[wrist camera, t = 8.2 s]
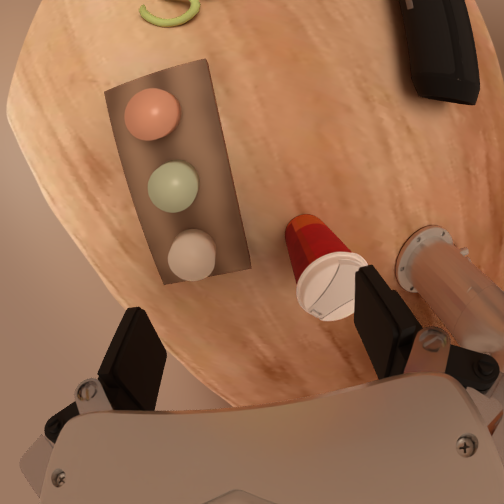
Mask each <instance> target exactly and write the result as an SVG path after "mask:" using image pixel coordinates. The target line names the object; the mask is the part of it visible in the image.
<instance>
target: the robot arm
mask: <svg viewBox="0 0 504 504" xmlns="http://www.w3.org/2000/svg"><path fill="white" fill-rule="evenodd" d="M467 254H468V248H467V247H464V248H461V249H458V248H457V247H456V246H455V245H453V240H452V237H451V235H450V234H449V232H447V231H446V230H445V229H444V228H442V227H440V226H436V225H431V226H427V227H424V228H422V229H420V230H419V231H417V232H416V233H415V234H413V235H412V236H411V237H410V238H409V240H408V241H407V242H406V243H405V245H404V246H403V248H402V249H401V252H400V254H399V256H398V259H397V263H396V277H397V280H398V282H399V284H400V285H401V286H402V287H403V288H404V289H405V290H406V291H409V292H418V293H419V294H420V295H421V296H422V297H423V299H424V300H425V301H426V302H427V304H428V305H429V306H430V307H431V309H432V310H433V311H434V312H435V314H436V315H437V316H438V317H439V319H440V320H441V321H442V322H443V324H444V325H445V326H446V328H447V329H448V330H449V332H450V333H451V334H452V336H453V337H454V338H455V340H456V341H457V342H458V344H459V345H460V346H461V347H458V346H455V345H451V342H450V337H449V335H448V334H447V333H446V332H445V331H444V330H442V329H441V328H438V327H425V328H422V326H421V325H420V323H419V322H418V321H417V319H416V318H415V316H414V315H413V313H412V312H411V310H410V309H409V308H408V306H407V305H406V303H405V302H404V301H403V299H402V298H401V297H400V295H399V294H398V293H397V292H396V291H395V290H391V289H390V288H389V286H388V285H387V284H386V282H385V281H384V279H383V278H382V277H381V275H380V274H379V273H378V271H377V270H376V269H375V268H374V266H373V265H368V266H363V267H360V268H359V271H356V272H355V303H354V323H355V326H356V329H357V331H358V333H359V335H360V337H361V339H362V342H363V344H364V346H365V348H366V351H367V353H368V355H369V357H370V360H371V362H372V364H373V367H374V369H375V371H376V374H377V376H378V378H379V380H375V381H372V382H368V383H364V384H361V385H357V386H353V387H349V388H344V389H340V390H336V391H332V392H327V393H323V394H318V395H313V396H308V397H303V398H297V399H292V400H286V401H280V402H273V403H266V404H259V405H251V406H242V407H232V408H221V409H206V410H184V411H154V410H155V406H156V401H157V396H158V392H159V387H160V383H161V379H162V375H163V370H164V366H165V362H166V358H167V353H166V350H165V348H164V346H163V344H162V342H161V340H160V339H159V337H158V335H157V333H156V331H155V329H154V327H153V325H152V323H151V322H150V320H149V318H148V316H147V314H146V312H145V310H143V309H141V308H140V307H133V308H128V309H127V310H126V312H125V314H124V316H123V318H122V320H121V322H120V324H119V326H118V328H117V331H116V333H115V335H114V337H113V339H112V341H111V344H110V346H109V348H108V350H107V353H106V355H105V357H104V359H103V362H102V364H101V366H100V369H99V371H98V375H99V377H98V380H97V379H94V378H90V379H86V380H84V381H83V382H81V383H80V384H79V385H78V387H77V388H76V390H75V394H74V396H75V402H73V403H72V404H70V405H69V406H67V407H66V408H64V409H63V410H61V411H60V412H58V413H57V414H55V415H54V416H52V417H51V418H50V419H49V420H48V421H47V423H46V425H45V430H44V431H45V436H43V435H41V436H40V437H39V438H38V439H37V440H36V441H35V442H34V443H33V445H32V446H31V447H30V448H29V449H28V450H27V451H26V453H25V454H24V455H23V456H22V458H21V460H20V469H21V471H22V473H23V474H24V476H25V478H26V479H27V481H28V482H29V484H30V485H31V487H32V488H33V490H34V491H35V492H36V494H37V495H38V497H39V498H40V502H39V504H504V292H503V291H502V290H501V289H500V288H499V287H498V286H497V285H496V284H495V283H494V282H493V281H492V280H491V279H489V278H488V277H487V276H486V275H485V274H484V273H483V272H482V271H481V270H480V269H478V268H477V267H476V266H475V265H474V264H473V263H472V262H471V260H470V258H469V257H465V255H467ZM483 353H489V354H490V356H489V355H487V354H483Z"/></svg>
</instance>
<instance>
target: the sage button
mask: <svg viewBox="0 0 504 504" xmlns="http://www.w3.org/2000/svg"><path fill="white" fill-rule="evenodd" d="M199 186H200V179H199V175H198V172H197V171H196V169H195V168H194V167H193V166H192V165H191V164H190V163H188V162H186V161H184V160H178V159H176V160H170V161H167V162H166V163H164V164H163V165H161V166H160V167H159V168H157V169H156V170H155V171H154V172H153V173H152V175H151V176H150V179H149V182H148V194H149V197H150V199H151V201H152V202H153V204H154V205H155V206H156V207H157V208H159V209H161V210H163V211H165V212H170V213H176V212H180V211H183V210H185V209H186V208H188V207H189V206H190V205H191V204H192V202H193V201H194V199H195V197H196V194H197V192H198V189H199Z"/></svg>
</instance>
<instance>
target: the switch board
mask: <svg viewBox="0 0 504 504" xmlns="http://www.w3.org/2000/svg"><path fill="white" fill-rule="evenodd" d="M149 88H156V89H161V90H164V91H167V92H169V93H171V94H173V95H174V96H175V97H176V98H177V99H178V101H179V103H180V106H181V119H180V122H179V124H178V126H177V127H176V128H175V129H174V131H172V132H171V133H170V134H168V135H166V136H164V137H161V138H158V139H155V140H150V141H145V140H141V139H138V138H136V137H134V136H133V135H132V134H131V133H130V132H129V130H128V129H127V127H126V124H125V119H124V115H125V109H126V106H127V104H128V102H129V101H130V99H131V98H132V97H133V96H134V95H135V94H137V93H138V92H140V91H142V90H145V89H149ZM104 94H105V99H106V103H107V108H108V112H109V117H110V121H111V125H112V129H113V133H114V137H115V141H116V145H117V149H118V153H119V156H120V160H121V163H122V167H123V170H124V174H125V177H126V180H127V184H128V187H129V190H130V193H131V197H132V200H133V203H134V206H135V209H136V212H137V215H138V218H139V221H140V223H141V226H142V229H143V232H144V235H145V237H146V240H147V243H148V246H149V248H150V251H151V254H152V256H153V259H154V261H155V264H156V266H157V269H158V272H159V274H160V276H161V279H162V281H163V284H164V285H166V284H172V283H177V282H183V281H187V280H184V279H181V278H179V277H178V276H176V275H175V274H174V273H173V272H172V270H171V269H170V267H169V264H168V254H169V251H170V249H171V246H172V244H173V241H174V239H175V238H176V236H177V235H178V234H179V233H181V232H182V231H185V230H188V229H198V230H201V231H204V232H206V233H207V234H208V235H210V236H211V238H212V239H213V241H214V242H215V246H216V256H215V265H214V269H213V271H212V272H211V274H210V275H209V276H215V275H220V274H225V273H230V272H235V271H241V270H246V269H251V262H250V255H249V251H248V246H247V241H246V237H245V232H244V228H243V223H242V219H241V214H240V209H239V205H238V200H237V196H236V191H235V187H234V182H233V177H232V173H231V168H230V164H229V159H228V154H227V150H226V145H225V140H224V136H223V131H222V126H221V122H220V117H219V113H218V108H217V103H216V99H215V94H214V89H213V85H212V80H211V75H210V71H209V66H208V62H207V60H206V59H201V60H197V61H193V62H189V63H185V64H182V65H178V66H175V67H171V68H168V69H165V70H161V71H158V72H155V73H152V74H149V75H146V76H143V77H140V78H138V79H135V80H132V81H130V82H127V83H124V84H122V85H119V86H117V87H114V88H112V89H110V90H107V91H105V92H104ZM176 159H178V160H184V161H186V162H188V163H190V164H191V165H192V166H193V167H194V168H195V169H196V171H197V172H198V175H199V179H200V186H199V189H198V192H197V194H196V197H195V199H194V201H193V202H192V204H191V205H190V206H189V207H188V208H186V209H185V210H183V211H180V212H176V213H170V212H165V211H163V210H161V209H159V208H157V207H156V206H155V205H154V204H153V202H152V201H151V199H150V197H149V194H148V182H149V179H150V176H151V175H152V173H153V172H154V171H155V170H156V169H157V168H159V167H160V166H161V165H163V164H164V163H166V162H167V161H170V160H176ZM209 276H207V277H209Z"/></svg>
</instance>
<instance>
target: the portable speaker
mask: <svg viewBox="0 0 504 504" xmlns="http://www.w3.org/2000/svg"><path fill="white" fill-rule="evenodd" d="M399 2H400V6H401V10H402V15H403V20H404V25H405V31H406V36H407V43H408V49H409V57H410V65H411V74H412V77H411V78H412V81H413V83H414V85H415V88H416V90H417V92H418V95H419V96H420V97H424V98H428V99H434V100H439V101H445V102H452V103H458V104H465V105H475V104H476V101H477V98H478V94H479V91H480V79H479V69H478V61H477V54H476V48H475V42H474V37H473V32H472V28H471V23H470V19H469V15H468V11H467V7H466V4H465V0H399Z"/></svg>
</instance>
